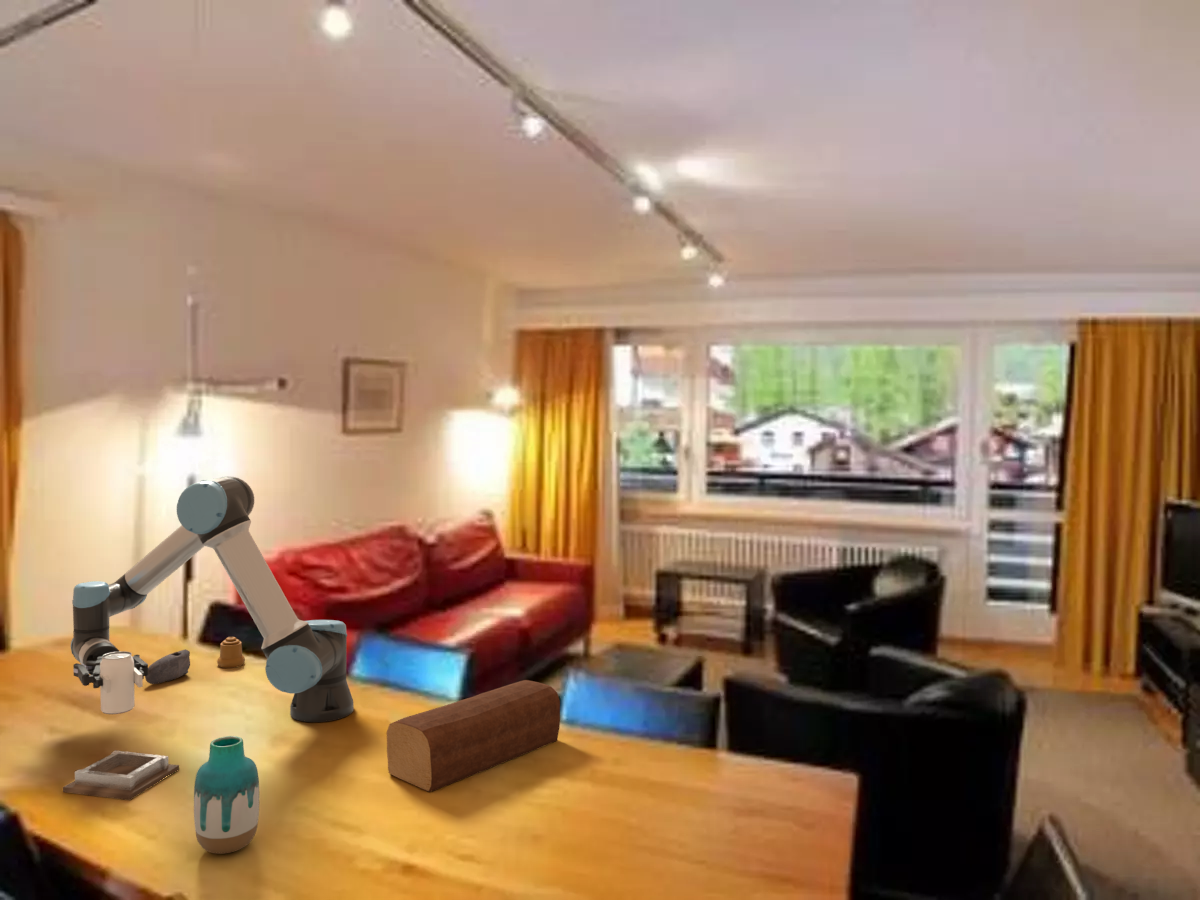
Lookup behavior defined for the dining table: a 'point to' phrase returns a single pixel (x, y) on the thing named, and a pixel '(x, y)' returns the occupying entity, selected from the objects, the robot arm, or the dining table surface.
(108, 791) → the collar base
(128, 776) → the grey hollow square frame
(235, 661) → the ornamental finial
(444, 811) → the dining table surface
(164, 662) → the perforated stone tool
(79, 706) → the dining table surface
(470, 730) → the bread
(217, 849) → the vase
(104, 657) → the can
